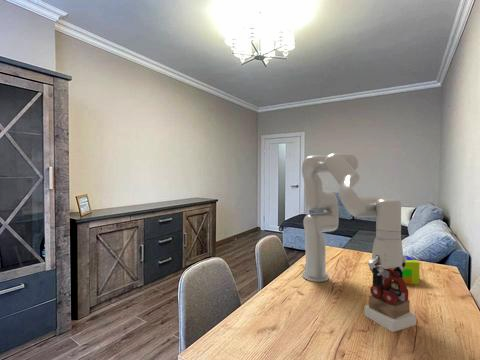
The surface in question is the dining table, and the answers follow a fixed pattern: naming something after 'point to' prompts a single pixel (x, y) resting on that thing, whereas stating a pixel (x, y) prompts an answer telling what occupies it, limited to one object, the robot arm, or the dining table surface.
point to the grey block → (391, 319)
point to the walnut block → (389, 307)
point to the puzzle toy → (410, 271)
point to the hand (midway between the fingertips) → (387, 283)
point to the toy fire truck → (391, 287)
